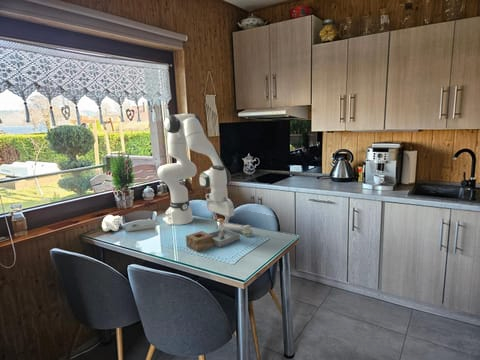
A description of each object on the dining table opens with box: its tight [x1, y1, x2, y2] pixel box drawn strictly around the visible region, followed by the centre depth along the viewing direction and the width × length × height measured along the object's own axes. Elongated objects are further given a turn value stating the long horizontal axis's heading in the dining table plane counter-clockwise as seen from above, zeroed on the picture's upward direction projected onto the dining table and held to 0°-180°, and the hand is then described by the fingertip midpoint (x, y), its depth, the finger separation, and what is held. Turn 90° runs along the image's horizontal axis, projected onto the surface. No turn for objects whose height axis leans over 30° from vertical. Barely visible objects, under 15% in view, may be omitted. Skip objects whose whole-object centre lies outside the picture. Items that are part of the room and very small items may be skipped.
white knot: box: [101, 214, 123, 232], centre depth 195 cm, size 11×12×9 cm
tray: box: [208, 229, 241, 249], centre depth 170 cm, size 14×14×4 cm
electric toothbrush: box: [216, 222, 253, 238], centre depth 182 cm, size 5×7×25 cm
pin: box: [217, 217, 225, 240], centre depth 169 cm, size 3×3×11 cm
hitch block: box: [185, 230, 214, 253], centre depth 163 cm, size 10×10×6 cm
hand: (220, 221), depth 169 cm, fingers open, 8 cm apart
